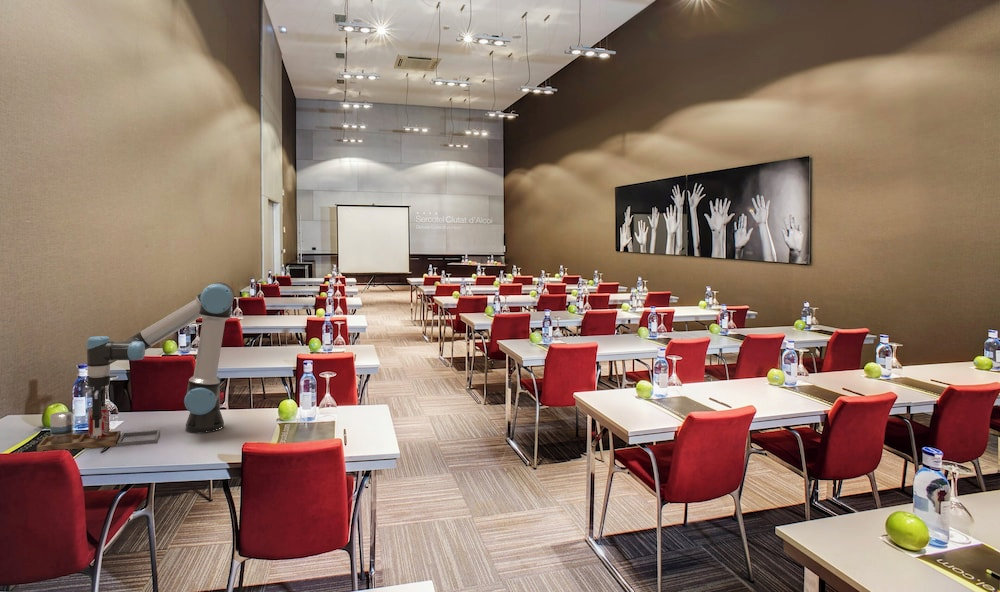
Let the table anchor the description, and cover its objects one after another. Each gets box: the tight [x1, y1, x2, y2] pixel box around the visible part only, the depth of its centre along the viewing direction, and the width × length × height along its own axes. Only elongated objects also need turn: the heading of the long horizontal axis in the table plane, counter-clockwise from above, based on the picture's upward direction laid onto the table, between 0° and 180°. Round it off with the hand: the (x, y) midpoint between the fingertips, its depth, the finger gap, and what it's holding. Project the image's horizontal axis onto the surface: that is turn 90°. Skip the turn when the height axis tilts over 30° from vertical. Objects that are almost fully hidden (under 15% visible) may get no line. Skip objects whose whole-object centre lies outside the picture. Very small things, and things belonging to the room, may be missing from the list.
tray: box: [116, 429, 161, 447], centre depth 250 cm, size 14×14×2 cm
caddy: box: [36, 430, 122, 452], centre depth 242 cm, size 25×13×2 cm, turn 115°
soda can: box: [87, 405, 110, 440], centre depth 244 cm, size 7×7×12 cm
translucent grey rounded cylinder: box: [49, 411, 74, 445], centre depth 239 cm, size 7×7×12 cm
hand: (99, 432), depth 244 cm, fingers closed on soda can, 7 cm apart
